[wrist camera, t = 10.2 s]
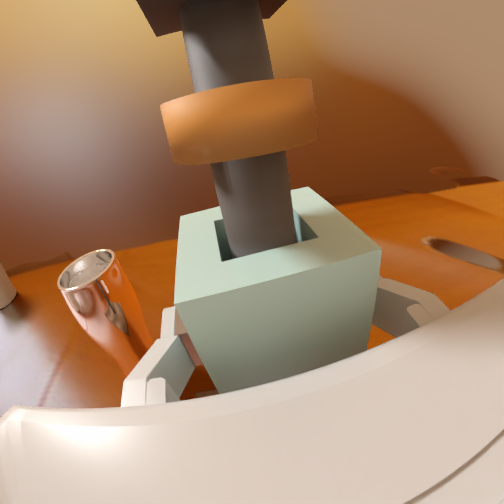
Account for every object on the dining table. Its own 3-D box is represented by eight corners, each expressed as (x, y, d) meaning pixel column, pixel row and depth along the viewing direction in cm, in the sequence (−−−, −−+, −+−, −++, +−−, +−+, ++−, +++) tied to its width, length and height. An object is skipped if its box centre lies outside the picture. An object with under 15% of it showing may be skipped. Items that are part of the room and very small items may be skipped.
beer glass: (162, 338, 34) (114, 240, 26) (179, 375, 28) (119, 269, 21) (118, 358, 31) (58, 266, 24) (128, 398, 26) (51, 301, 18)
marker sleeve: (352, 401, 10) (381, 248, 6) (243, 434, 10) (174, 303, 6) (315, 328, 15) (308, 186, 10) (227, 352, 14) (180, 216, 10)
